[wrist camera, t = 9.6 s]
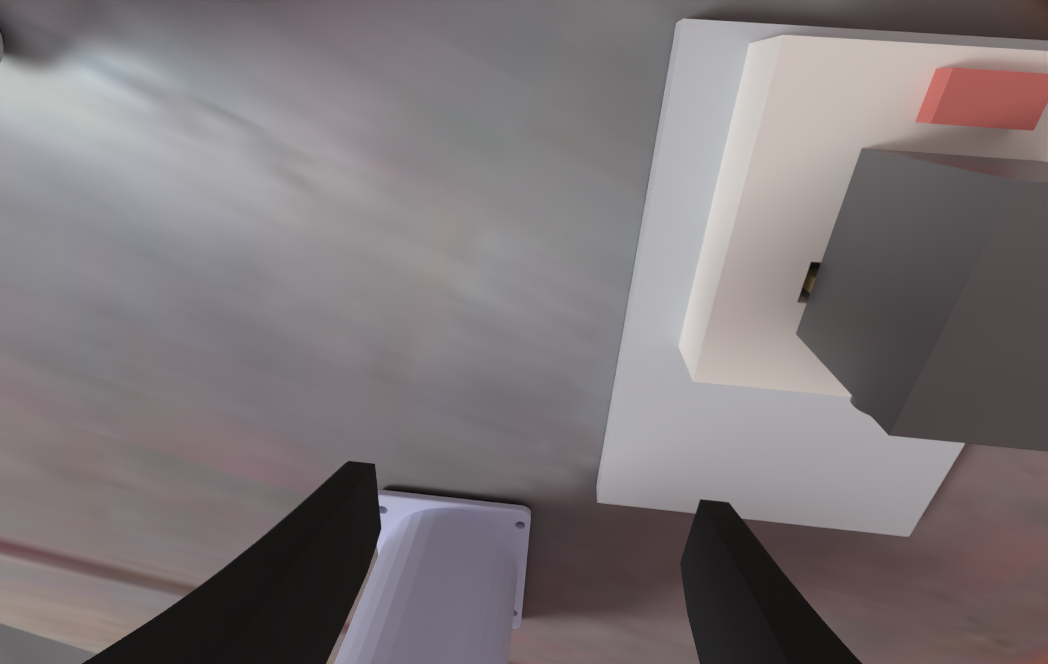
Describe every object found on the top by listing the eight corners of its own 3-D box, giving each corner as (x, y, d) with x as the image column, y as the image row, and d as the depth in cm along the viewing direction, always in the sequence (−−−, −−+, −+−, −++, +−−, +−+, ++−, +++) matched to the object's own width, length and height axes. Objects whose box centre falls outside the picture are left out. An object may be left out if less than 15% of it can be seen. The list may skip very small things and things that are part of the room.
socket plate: (678, 346, 19) (697, 391, 16) (749, 43, 14) (793, 32, 11) (949, 371, 18) (1018, 423, 15) (1114, 65, 13) (1254, 60, 11)
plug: (767, 359, 17) (861, 489, 11) (839, 143, 14) (1018, 180, 8) (899, 371, 17) (1060, 509, 11) (1004, 155, 14) (1301, 201, 8)
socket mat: (895, 519, 23) (908, 537, 22) (596, 486, 23) (597, 502, 22) (1163, 52, 14) (1203, 49, 13) (676, 22, 15) (682, 18, 14)
